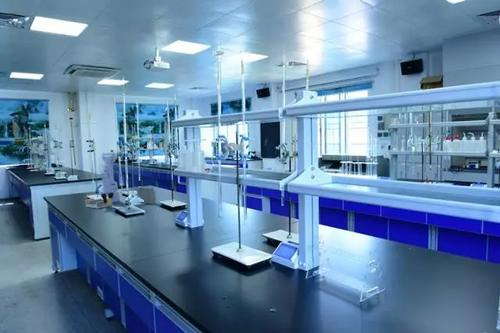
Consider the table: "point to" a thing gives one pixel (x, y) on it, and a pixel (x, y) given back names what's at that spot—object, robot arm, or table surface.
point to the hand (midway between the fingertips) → (107, 202)
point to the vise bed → (98, 205)
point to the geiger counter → (146, 194)
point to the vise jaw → (92, 201)
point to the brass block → (108, 201)
